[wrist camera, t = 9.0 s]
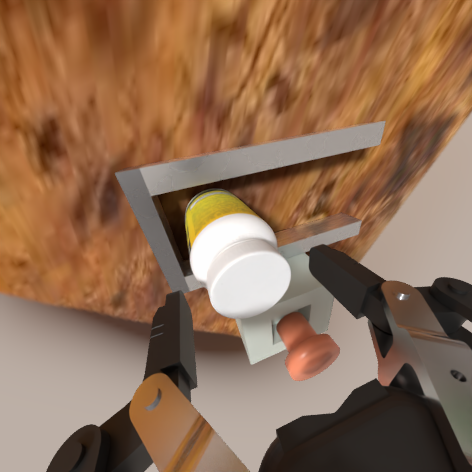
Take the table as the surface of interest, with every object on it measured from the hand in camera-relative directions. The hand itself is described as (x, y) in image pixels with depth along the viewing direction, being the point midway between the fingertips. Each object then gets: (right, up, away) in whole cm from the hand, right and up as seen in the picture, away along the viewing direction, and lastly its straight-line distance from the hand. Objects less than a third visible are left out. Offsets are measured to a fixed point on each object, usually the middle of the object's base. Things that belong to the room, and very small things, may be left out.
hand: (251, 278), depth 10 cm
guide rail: (+3, +6, +9) cm, 12 cm away
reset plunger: (+5, -7, +7) cm, 11 cm away
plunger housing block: (+2, -3, +14) cm, 15 cm away
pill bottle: (-3, +5, +8) cm, 10 cm away
